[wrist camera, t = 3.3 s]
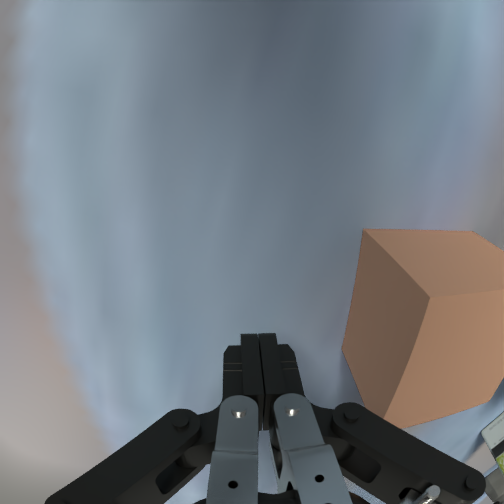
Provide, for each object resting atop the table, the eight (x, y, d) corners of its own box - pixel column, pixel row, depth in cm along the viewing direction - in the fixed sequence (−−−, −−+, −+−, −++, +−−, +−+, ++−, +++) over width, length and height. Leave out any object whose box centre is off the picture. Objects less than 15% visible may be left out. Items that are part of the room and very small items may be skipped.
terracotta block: (362, 228, 16) (430, 297, 10) (472, 230, 17) (547, 283, 10) (341, 347, 19) (375, 434, 13) (440, 335, 20) (489, 401, 13)
